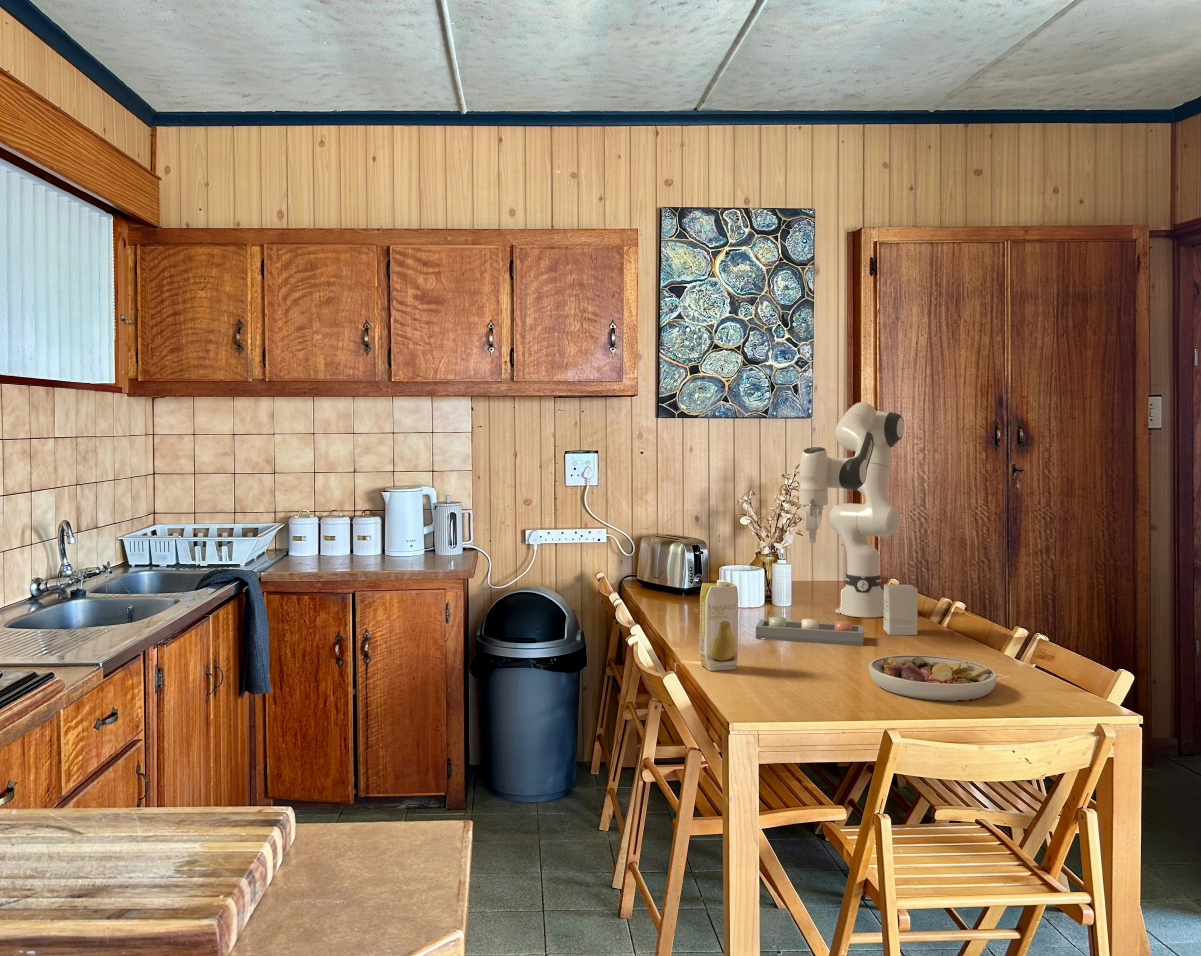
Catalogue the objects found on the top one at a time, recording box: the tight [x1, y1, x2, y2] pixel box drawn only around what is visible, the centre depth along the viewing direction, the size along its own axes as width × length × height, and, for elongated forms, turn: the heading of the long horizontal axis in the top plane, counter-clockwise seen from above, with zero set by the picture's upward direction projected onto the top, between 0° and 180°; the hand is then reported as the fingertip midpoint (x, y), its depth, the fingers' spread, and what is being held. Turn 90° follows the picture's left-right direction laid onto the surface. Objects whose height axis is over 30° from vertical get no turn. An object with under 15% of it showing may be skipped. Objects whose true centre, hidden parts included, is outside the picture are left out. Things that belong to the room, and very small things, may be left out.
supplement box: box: [883, 583, 919, 636], centre depth 300 cm, size 9×9×15 cm
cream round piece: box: [801, 618, 820, 629], centre depth 291 cm, size 5×5×4 cm
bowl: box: [868, 654, 998, 702], centre depth 235 cm, size 30×30×8 cm
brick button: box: [834, 620, 853, 631], centre depth 288 cm, size 5×5×4 cm
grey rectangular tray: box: [755, 618, 865, 647], centre depth 291 cm, size 12×32×4 cm, turn 74°
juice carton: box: [699, 579, 739, 672], centre depth 252 cm, size 9×8×24 cm
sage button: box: [768, 616, 787, 627], centre depth 294 cm, size 5×5×4 cm
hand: (812, 542), depth 296 cm, fingers closed
